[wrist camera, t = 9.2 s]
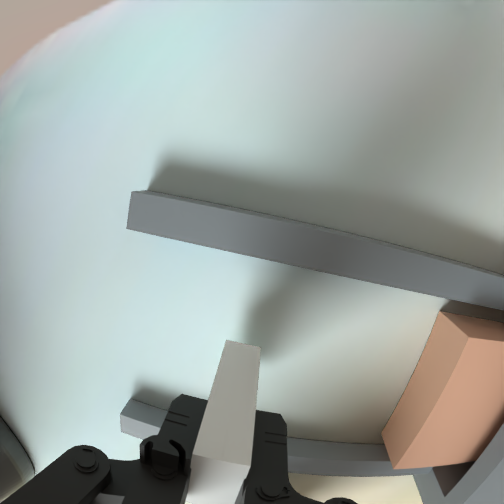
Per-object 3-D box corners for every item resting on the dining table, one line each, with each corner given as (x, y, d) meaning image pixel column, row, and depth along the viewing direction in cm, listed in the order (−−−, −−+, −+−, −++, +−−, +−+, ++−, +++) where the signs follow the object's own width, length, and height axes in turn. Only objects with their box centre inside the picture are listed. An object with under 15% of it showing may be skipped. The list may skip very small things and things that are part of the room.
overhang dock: (131, 450, 17) (100, 511, 11) (161, 111, 12) (93, 74, 7) (500, 470, 16) (522, 510, 10) (604, 260, 11) (652, 279, 6)
